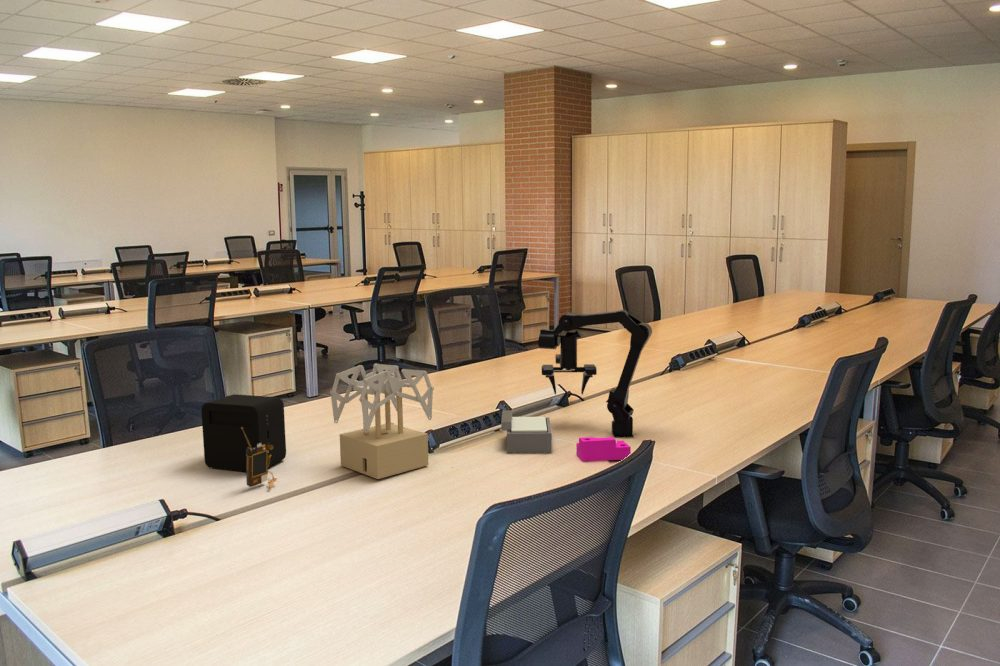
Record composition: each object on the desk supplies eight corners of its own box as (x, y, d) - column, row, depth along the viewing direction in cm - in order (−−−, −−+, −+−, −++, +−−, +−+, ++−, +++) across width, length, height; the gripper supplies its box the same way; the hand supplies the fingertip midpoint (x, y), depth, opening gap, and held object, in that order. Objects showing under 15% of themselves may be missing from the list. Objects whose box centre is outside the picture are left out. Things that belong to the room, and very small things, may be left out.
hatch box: (549, 435, 263) (549, 417, 262) (551, 453, 242) (551, 433, 241) (508, 435, 263) (508, 417, 262) (507, 453, 242) (506, 433, 241)
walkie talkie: (251, 494, 207) (248, 429, 205) (224, 485, 215) (220, 422, 213) (291, 481, 218) (288, 419, 215) (264, 473, 226) (261, 413, 223)
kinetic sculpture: (368, 481, 216) (365, 376, 213) (330, 466, 231) (325, 368, 227) (436, 462, 233) (434, 365, 230) (396, 450, 248) (393, 357, 244)
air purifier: (290, 459, 239) (287, 396, 236) (261, 473, 225) (257, 406, 223) (235, 454, 245) (232, 392, 243) (204, 467, 232) (200, 402, 229)
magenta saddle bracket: (582, 441, 232) (576, 435, 239) (582, 461, 232) (576, 454, 240) (630, 438, 234) (623, 432, 241) (630, 458, 235) (622, 452, 242)
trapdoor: (545, 418, 260) (545, 409, 260) (547, 432, 242) (546, 422, 242) (502, 418, 261) (502, 409, 261) (501, 432, 243) (501, 422, 243)
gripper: (593, 346, 273) (593, 389, 275) (541, 346, 274) (541, 389, 276) (596, 350, 262) (596, 396, 264) (541, 351, 262) (542, 396, 264)
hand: (568, 394), depth 267 cm, fingers open, 9 cm apart
